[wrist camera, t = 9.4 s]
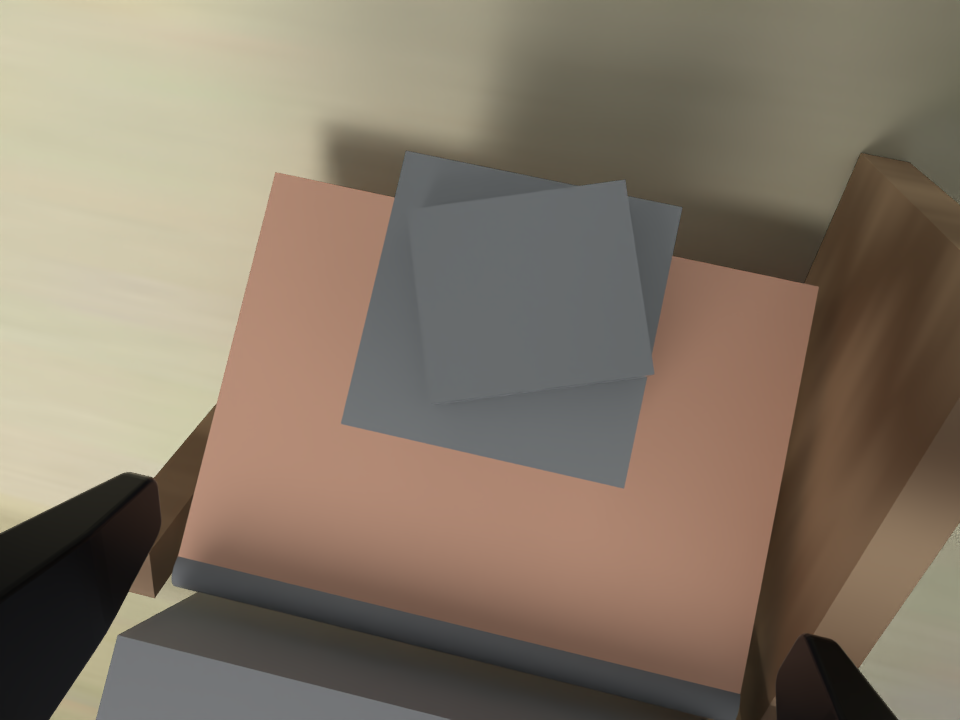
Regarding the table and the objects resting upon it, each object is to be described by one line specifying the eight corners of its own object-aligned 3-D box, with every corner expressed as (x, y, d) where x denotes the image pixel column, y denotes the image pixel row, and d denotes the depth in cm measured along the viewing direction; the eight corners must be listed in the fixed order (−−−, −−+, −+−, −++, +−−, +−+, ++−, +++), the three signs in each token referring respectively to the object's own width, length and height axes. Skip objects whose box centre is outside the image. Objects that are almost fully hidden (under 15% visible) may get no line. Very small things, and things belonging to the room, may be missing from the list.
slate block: (591, 470, 17) (633, 494, 12) (388, 424, 18) (326, 424, 12) (634, 267, 18) (697, 189, 12) (434, 225, 18) (397, 128, 12)
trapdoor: (667, 856, 19) (720, 1005, 14) (177, 728, 20) (67, 828, 15) (775, 306, 21) (860, 267, 16) (307, 206, 21) (245, 140, 16)
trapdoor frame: (688, 630, 28) (711, 880, 20) (255, 526, 29) (132, 729, 21) (909, 162, 18) (1098, 322, 11) (250, 31, 19) (26, 98, 12)
